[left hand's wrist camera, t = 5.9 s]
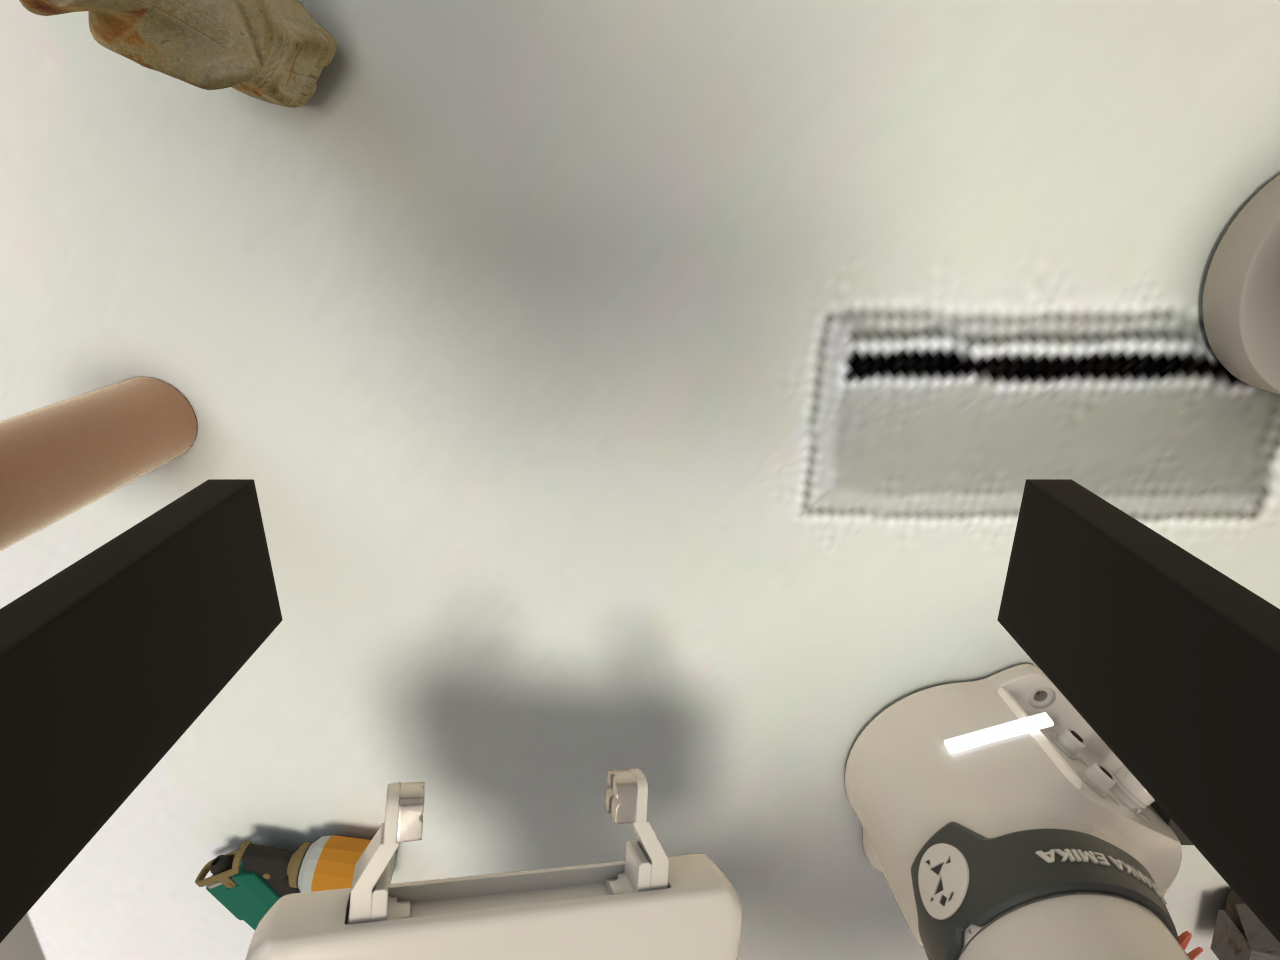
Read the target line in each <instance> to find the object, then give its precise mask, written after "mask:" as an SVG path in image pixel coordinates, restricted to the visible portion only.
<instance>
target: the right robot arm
mask: <svg viewBox="0 0 1280 960" xmlns="http://www.w3.org/2000/svg"><path fill="white" fill-rule="evenodd" d="M1038 691H1040V692H1039V693H1038V694H1035V693H1037V692H1038ZM606 782H607V784H608V785H609V788H608V789H607V791H606V798H605V807H606V809H607V810H608V812H609V813H611V818H612V819H613V821H614V823H615V824H619V823H631V825H632V827H633V829H634V831H635V833H636V835H637V837H638V842H637V840H629V841H628V842H627V843H626V852H625V861H618V862H608V863H598V864H588V865H578V866H568V867H558V868H548V869H538V870H528V871H518V872H508V873H497V874H487V875H477V876H467V877H457V878H447V879H437V880H427V881H417V882H407V883H396V884H389V877H390V864H389V861H390V860H391V858H392V856H393V855H394V853H395V851H396V850H397V848H398V846H399V845H400V842H406V841H415V840H422V828H423V812H424V790H425V789H424V782H413V783H390V784H388V790H387V800H386V811H385V823H383V824H382V825H381V826H380V828H379V830H378V831H377V833H376V834H375V836H374V837H373V839H372V840H371V842H370V843H369V845H368V846H367V848H366V849H365V851H364V852H363V854H362V855H361V857H360V859H359V860H358V862H357V863H356V865H355V870H354V876H353V882H352V888H346V889H336V890H326V891H316V892H305V893H294V894H288V895H285V896H283V897H281V898H280V899H279V900H278V901H277V902H276V903H275V904H274V905H273V906H272V907H271V908H270V910H269V911H268V912H267V913H266V914H265V916H264V917H263V918H262V919H261V921H260V922H259V924H258V926H257V928H256V930H255V932H254V935H253V937H252V940H251V943H250V946H249V949H248V953H247V956H246V960H737V959H738V952H739V945H740V938H741V929H742V917H743V910H742V904H741V901H740V898H739V896H738V894H737V892H736V891H735V889H734V887H733V886H732V884H731V883H730V881H729V880H728V879H727V877H726V876H725V875H724V874H723V872H722V871H721V870H720V869H719V868H718V867H717V866H716V865H715V864H714V863H713V862H712V860H711V859H710V858H709V857H707V856H706V855H704V854H688V855H678V856H668V857H667V855H666V853H665V851H664V849H663V847H662V845H661V843H660V841H659V839H658V838H657V836H656V834H655V832H654V830H653V828H652V826H651V824H650V822H649V820H648V819H647V807H648V782H647V778H646V776H645V775H644V774H643V772H642V771H641V770H640V768H638V769H621V770H609V771H608V772H607V780H606ZM400 786H401V787H400ZM845 788H846V793H847V797H848V800H849V802H850V805H851V807H852V809H853V810H854V812H855V814H856V815H857V817H858V819H859V821H860V822H861V824H862V827H863V848H864V852H865V855H866V857H867V859H868V861H869V863H870V865H871V866H872V867H873V868H874V869H876V870H878V871H882V872H883V873H884V875H885V877H886V879H887V881H888V883H889V885H890V887H891V889H892V891H893V893H894V895H895V898H896V900H897V902H898V904H899V906H900V908H901V910H902V912H903V914H904V916H905V918H906V920H907V922H908V924H909V926H910V928H911V930H912V932H913V934H914V936H915V938H916V939H917V941H918V942H919V943H920V945H921V946H922V947H924V949H925V951H926V954H927V956H928V959H929V960H1194V959H1195V958H1196V957H1197V956H1198V955H1199V954H1200V953H1201V952H1202V951H1203V949H1202V948H1201V947H1198V948H1196V949H1194V950H1192V951H1191V952H1189V953H1188V954H1186V952H1185V951H1184V950H1185V948H1186V946H1187V945H1188V943H1189V941H1190V939H1191V937H1192V935H1191V933H1190V932H1188V931H1186V932H1184V933H1182V934H1181V935H1180V936H1179V937H1178V935H1177V932H1176V929H1175V926H1174V924H1173V921H1172V919H1171V917H1170V914H1169V912H1168V910H1167V908H1166V904H1167V903H1166V901H1165V900H1164V898H1163V896H1164V895H1165V893H1166V892H1167V890H1168V889H1169V887H1170V886H1171V884H1172V883H1173V881H1174V879H1175V877H1176V876H1177V873H1178V871H1179V868H1180V864H1181V859H1182V848H1181V845H1194V844H1193V843H1192V842H1191V841H1190V840H1189V839H1188V837H1187V836H1186V835H1185V834H1184V833H1183V832H1182V831H1181V829H1180V828H1179V827H1178V826H1177V825H1176V824H1175V823H1174V821H1173V820H1172V819H1171V818H1170V817H1169V816H1168V815H1167V813H1166V812H1165V811H1164V810H1163V809H1162V808H1161V807H1160V805H1159V804H1158V803H1157V802H1156V801H1155V800H1154V799H1153V797H1152V796H1151V795H1150V794H1149V793H1148V792H1147V791H1146V789H1145V788H1144V787H1143V786H1142V785H1141V784H1140V783H1139V781H1138V780H1137V779H1136V778H1135V777H1134V776H1133V775H1132V773H1131V772H1130V771H1129V770H1128V769H1127V768H1126V767H1125V765H1124V764H1123V763H1122V762H1121V761H1120V760H1119V759H1118V757H1117V756H1116V755H1115V754H1114V753H1113V752H1112V751H1111V749H1110V748H1109V747H1108V746H1107V745H1106V744H1105V743H1104V741H1103V740H1102V739H1101V738H1100V737H1099V736H1098V735H1097V733H1096V732H1095V731H1094V730H1093V729H1092V728H1091V727H1090V725H1089V724H1088V723H1087V722H1086V721H1085V720H1084V719H1083V717H1082V716H1081V715H1080V714H1079V713H1078V712H1077V711H1076V709H1075V708H1074V707H1073V706H1072V705H1071V704H1070V702H1069V701H1068V700H1067V699H1066V698H1065V697H1064V696H1063V694H1062V693H1061V692H1060V691H1059V690H1058V689H1057V688H1056V686H1055V685H1054V684H1053V683H1052V682H1051V681H1050V680H1049V678H1048V677H1047V676H1046V675H1045V674H1044V673H1043V672H1042V670H1041V669H1040V668H1038V667H1037V666H1035V665H1032V664H1021V665H1017V666H1014V667H1011V668H1008V669H1006V670H1003V671H1001V672H999V673H996V674H994V675H992V676H990V677H988V678H985V679H981V680H977V681H970V682H959V683H950V684H944V685H939V686H935V687H931V688H927V689H924V690H921V691H919V692H916V693H914V694H911V695H909V696H907V697H905V698H903V699H901V700H899V701H897V702H896V703H894V704H893V705H891V706H889V707H888V708H887V709H885V710H884V711H883V712H881V713H880V714H879V715H878V716H877V717H876V718H874V719H873V720H872V721H871V722H870V723H869V724H868V726H867V727H866V728H865V729H864V730H863V731H862V733H861V734H860V736H859V737H858V739H857V740H856V742H855V744H854V746H853V748H852V750H851V752H850V754H849V757H848V760H847V764H846V770H845Z"/></svg>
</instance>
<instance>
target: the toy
mask: <svg viewBox="0 0 1280 960" xmlns="http://www.w3.org/2000/svg"><path fill="white" fill-rule="evenodd" d="M1211 949H1212V951H1213V952H1214V953H1215V955H1216V956H1217V957H1218V959H1219V960H1280V943H1279V942H1278V940H1277V939H1276V938H1275V937H1274V936H1273V935H1272V934H1271V932H1270V931H1269V930H1268V929H1267V928H1266V927H1265V926H1264V924H1263V923H1262V922H1261V921H1260V920H1259V919H1258V918H1257V916H1256V915H1255V914H1254V913H1253V912H1252V911H1251V910H1250V908H1249V907H1248V906H1247V905H1246V904H1245V903H1244V902H1243V900H1242V899H1241V898H1240V897H1239V896H1238V895H1237V894H1236V892H1235V891H1234V890H1231V891H1230V892H1229V894H1228V896H1227V901H1226V906H1225V911H1224V910H1218V915H1217V920H1216V925H1215V930H1214V935H1213V939H1212V944H1211Z"/></svg>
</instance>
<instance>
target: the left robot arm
mask: <svg viewBox="0 0 1280 960" xmlns="http://www.w3.org/2000/svg"><path fill="white" fill-rule="evenodd" d="M281 621H282V615H281V611H280V606H279V601H278V596H277V591H276V586H275V581H274V576H273V571H272V566H271V562H270V557H269V552H268V547H267V542H266V537H265V532H264V527H263V522H262V517H261V512H260V508H259V503H258V498H257V493H256V488H255V483H254V480H207V481H206V482H204V483H202V484H201V485H199V486H198V487H196V488H194V489H193V490H191V491H190V492H188V493H186V494H185V495H183V496H182V497H180V498H178V499H177V500H175V501H174V502H172V503H170V504H169V505H167V506H165V507H164V508H162V509H161V510H159V511H157V512H156V513H154V514H153V515H151V516H149V517H148V518H146V519H145V520H143V521H141V522H140V523H138V524H137V525H135V526H133V527H132V528H130V529H129V530H127V531H125V532H124V533H122V534H120V535H119V536H117V537H116V538H114V539H112V540H111V541H109V542H108V543H106V544H104V545H103V546H101V547H100V548H98V549H96V550H95V551H93V552H92V553H90V554H88V555H87V556H85V557H84V558H82V559H80V560H79V561H77V562H76V563H74V564H72V565H71V566H69V567H67V568H66V569H64V570H63V571H61V572H59V573H58V574H56V575H55V576H53V577H51V578H50V579H48V580H47V581H45V582H43V583H42V584H40V585H39V586H37V587H35V588H34V589H32V590H31V591H29V592H27V593H26V594H24V595H22V596H21V597H19V598H18V599H16V600H14V601H13V602H11V603H10V604H8V605H6V606H5V607H3V608H2V609H0V943H1V942H2V940H3V939H4V938H5V937H6V936H7V935H8V934H9V932H10V931H11V930H12V929H13V928H14V927H15V925H16V924H17V923H18V922H19V921H20V920H21V919H22V917H23V916H24V915H25V914H26V913H27V912H28V911H29V910H30V908H31V907H32V906H33V905H34V904H35V903H36V902H37V900H38V899H39V898H40V897H41V896H42V895H43V894H44V892H45V891H46V890H47V889H48V888H49V887H50V886H51V884H52V883H53V882H54V881H55V880H56V879H57V878H58V876H59V875H60V874H61V873H62V872H63V871H64V870H65V868H66V867H67V866H68V865H69V864H70V863H71V862H72V860H73V859H74V858H75V857H76V856H77V855H78V853H79V852H80V851H81V850H82V849H83V848H84V847H85V845H86V844H87V843H88V842H89V841H90V840H91V839H92V837H93V836H94V835H95V834H96V833H97V832H98V831H99V829H100V828H101V827H102V826H103V825H104V824H105V823H106V821H107V820H108V819H109V818H110V817H111V816H112V815H113V813H114V812H115V811H116V810H117V809H118V808H119V807H120V805H121V804H122V803H123V802H124V801H125V800H126V799H127V797H128V796H129V795H130V794H131V793H132V792H133V791H134V789H135V788H136V787H137V786H138V785H139V784H140V783H141V781H142V780H143V779H144V778H145V777H146V776H147V775H148V773H149V772H150V771H151V770H152V769H153V768H154V767H155V765H156V764H157V763H158V762H159V761H160V760H161V759H162V757H163V756H164V755H165V754H166V753H167V752H168V751H169V749H170V748H171V747H172V746H173V745H174V744H175V743H176V741H177V740H178V739H179V738H180V737H181V736H182V735H183V733H184V732H185V731H186V730H187V729H188V728H189V727H190V725H191V724H192V723H193V722H194V721H195V720H196V719H197V717H198V716H199V715H200V714H201V713H202V712H203V711H204V709H205V708H206V707H207V706H208V705H209V704H210V702H211V701H212V700H213V699H214V698H215V697H216V696H217V694H218V693H219V692H220V691H221V690H222V689H223V688H224V686H225V685H226V684H227V683H228V682H229V681H230V680H231V678H232V677H233V676H234V675H235V674H236V673H237V672H238V670H239V669H240V668H241V667H242V666H243V665H244V664H245V662H246V661H247V660H248V659H249V658H250V657H251V656H252V654H253V653H254V652H255V651H256V650H257V649H258V648H259V646H260V645H261V644H262V643H263V642H264V641H265V640H266V638H267V637H268V636H269V635H270V634H271V633H272V632H273V630H274V629H275V628H276V627H277V626H278V625H279V624H280V622H281ZM998 621H999V622H1000V624H1001V625H1002V626H1003V627H1004V628H1005V629H1006V630H1007V632H1008V633H1009V634H1010V635H1011V636H1012V637H1013V638H1014V640H1015V641H1016V642H1017V643H1018V644H1019V645H1020V646H1021V648H1022V649H1023V650H1024V651H1025V652H1026V653H1027V654H1028V656H1029V657H1030V658H1031V659H1032V660H1033V661H1034V662H1035V664H1036V665H1037V666H1038V667H1039V668H1040V669H1041V670H1042V672H1043V673H1044V674H1045V675H1046V676H1047V677H1048V678H1049V680H1050V681H1051V682H1052V683H1053V684H1054V685H1055V686H1056V688H1057V689H1058V690H1059V691H1060V692H1061V693H1062V694H1063V696H1064V697H1065V698H1066V699H1067V700H1068V701H1069V702H1070V704H1071V705H1072V706H1073V707H1074V708H1075V709H1076V711H1077V712H1078V713H1079V714H1080V715H1081V716H1082V717H1083V719H1084V720H1085V721H1086V722H1087V723H1088V724H1089V725H1090V727H1091V728H1092V729H1093V730H1094V731H1095V732H1096V733H1097V735H1098V736H1099V737H1100V738H1101V739H1102V740H1103V741H1104V743H1105V744H1106V745H1107V746H1108V747H1109V748H1110V749H1111V751H1112V752H1113V753H1114V754H1115V755H1116V756H1117V757H1118V759H1119V760H1120V761H1121V762H1122V763H1123V764H1124V765H1125V767H1126V768H1127V769H1128V770H1129V771H1130V772H1131V773H1132V775H1133V776H1134V777H1135V778H1136V779H1137V780H1138V781H1139V783H1140V784H1141V785H1142V786H1143V787H1144V788H1145V789H1146V791H1147V792H1148V793H1149V794H1150V795H1151V796H1152V797H1153V799H1154V800H1155V801H1156V802H1157V803H1158V804H1159V805H1160V807H1161V808H1162V809H1163V810H1164V811H1165V812H1166V813H1167V815H1168V816H1169V817H1170V818H1171V819H1172V820H1173V821H1174V823H1175V824H1176V825H1177V826H1178V827H1179V828H1180V829H1181V831H1182V832H1183V833H1184V834H1185V835H1186V836H1187V837H1188V839H1189V840H1190V841H1191V842H1192V843H1193V844H1194V845H1195V847H1196V848H1197V849H1198V850H1199V851H1200V852H1201V853H1202V855H1203V856H1204V857H1205V858H1206V859H1207V860H1208V862H1209V863H1210V864H1211V865H1212V866H1213V867H1214V868H1215V870H1216V871H1217V872H1218V873H1219V874H1220V875H1221V876H1222V878H1223V879H1224V880H1225V881H1226V882H1227V883H1228V884H1229V886H1230V887H1231V888H1232V889H1233V890H1234V891H1235V892H1236V894H1237V895H1238V896H1239V897H1240V898H1241V899H1242V900H1243V902H1244V903H1245V904H1246V905H1247V906H1248V907H1249V908H1250V910H1251V911H1252V912H1253V913H1254V914H1255V915H1256V916H1257V918H1258V919H1259V920H1260V921H1261V922H1262V923H1263V924H1264V926H1265V927H1266V928H1267V929H1268V930H1269V931H1270V932H1271V934H1272V935H1273V936H1274V937H1275V938H1276V939H1277V940H1278V942H1279V943H1280V609H1278V608H1277V607H1275V606H1274V605H1272V604H1270V603H1269V602H1267V601H1266V600H1264V599H1262V598H1261V597H1259V596H1258V595H1256V594H1254V593H1253V592H1251V591H1249V590H1248V589H1246V588H1245V587H1243V586H1241V585H1240V584H1238V583H1237V582H1235V581H1233V580H1232V579H1230V578H1229V577H1227V576H1225V575H1224V574H1222V573H1221V572H1219V571H1217V570H1216V569H1214V568H1213V567H1211V566H1209V565H1208V564H1206V563H1204V562H1203V561H1201V560H1200V559H1198V558H1196V557H1195V556H1193V555H1192V554H1190V553H1188V552H1187V551H1185V550H1184V549H1182V548H1180V547H1179V546H1177V545H1176V544H1174V543H1172V542H1171V541H1169V540H1168V539H1166V538H1164V537H1163V536H1161V535H1160V534H1158V533H1156V532H1155V531H1153V530H1151V529H1150V528H1148V527H1147V526H1145V525H1143V524H1142V523H1140V522H1139V521H1137V520H1135V519H1134V518H1132V517H1131V516H1129V515H1127V514H1126V513H1124V512H1123V511H1121V510H1119V509H1118V508H1116V507H1115V506H1113V505H1111V504H1110V503H1108V502H1106V501H1105V500H1103V499H1102V498H1100V497H1098V496H1097V495H1095V494H1094V493H1092V492H1090V491H1089V490H1087V489H1086V488H1084V487H1082V486H1081V485H1079V484H1078V483H1076V482H1074V481H1073V480H1026V483H1025V488H1024V493H1023V498H1022V503H1021V508H1020V512H1019V517H1018V522H1017V527H1016V532H1015V537H1014V542H1013V547H1012V552H1011V557H1010V561H1009V566H1008V571H1007V576H1006V581H1005V586H1004V591H1003V596H1002V601H1001V606H1000V611H999V615H998Z"/></svg>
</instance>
